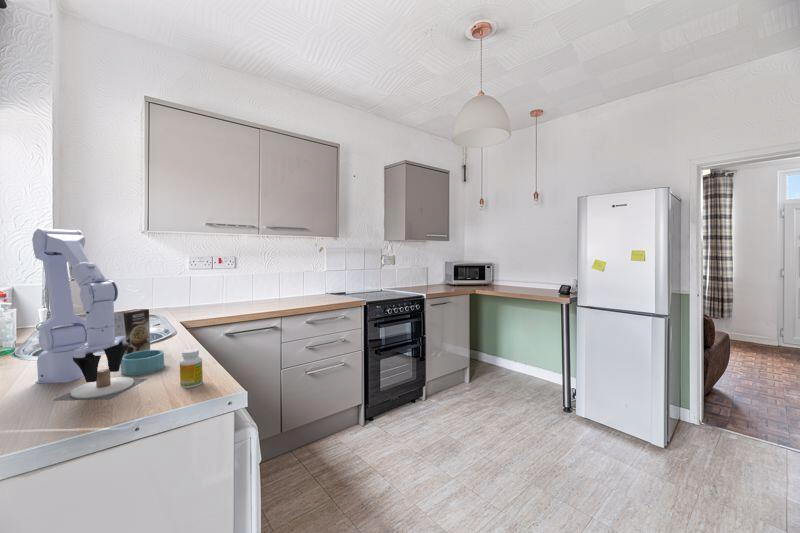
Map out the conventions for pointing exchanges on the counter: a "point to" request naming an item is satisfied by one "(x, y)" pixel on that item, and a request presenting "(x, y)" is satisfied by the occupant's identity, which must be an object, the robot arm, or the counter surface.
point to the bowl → (142, 362)
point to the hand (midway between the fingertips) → (103, 376)
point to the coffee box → (133, 329)
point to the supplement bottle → (191, 369)
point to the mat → (68, 396)
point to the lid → (102, 386)
